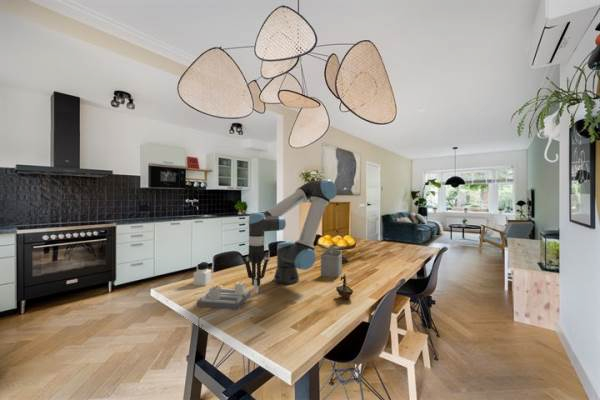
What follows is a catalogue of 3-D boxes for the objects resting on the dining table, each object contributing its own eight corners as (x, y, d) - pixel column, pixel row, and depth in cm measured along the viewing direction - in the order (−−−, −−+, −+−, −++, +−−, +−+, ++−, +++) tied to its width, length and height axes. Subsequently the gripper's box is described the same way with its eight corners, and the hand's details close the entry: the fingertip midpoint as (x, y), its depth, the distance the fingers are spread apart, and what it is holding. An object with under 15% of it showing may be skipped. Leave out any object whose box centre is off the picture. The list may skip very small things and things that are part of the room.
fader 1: (220, 297, 114) (221, 286, 114) (217, 300, 110) (217, 289, 110) (213, 296, 114) (213, 286, 114) (209, 300, 110) (209, 288, 110)
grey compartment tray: (250, 295, 122) (250, 288, 122) (238, 309, 106) (238, 302, 106) (213, 292, 125) (213, 286, 125) (196, 306, 109) (196, 299, 109)
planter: (327, 279, 147) (327, 248, 147) (320, 275, 154) (320, 245, 154) (348, 276, 154) (348, 246, 154) (341, 272, 161) (341, 244, 161)
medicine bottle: (211, 281, 141) (211, 261, 141) (205, 285, 134) (205, 264, 134) (199, 281, 142) (199, 260, 142) (193, 285, 135) (193, 264, 135)
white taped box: (245, 292, 120) (245, 281, 120) (242, 294, 117) (242, 284, 117) (237, 291, 121) (237, 281, 121) (234, 294, 117) (234, 283, 117)
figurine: (356, 301, 116) (356, 276, 116) (341, 303, 114) (342, 278, 114) (346, 293, 126) (347, 270, 126) (333, 295, 123) (333, 271, 123)
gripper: (271, 243, 120) (270, 289, 120) (246, 242, 122) (246, 288, 122) (267, 246, 113) (266, 295, 113) (241, 245, 115) (240, 294, 115)
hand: (256, 292), depth 118 cm, fingers closed
